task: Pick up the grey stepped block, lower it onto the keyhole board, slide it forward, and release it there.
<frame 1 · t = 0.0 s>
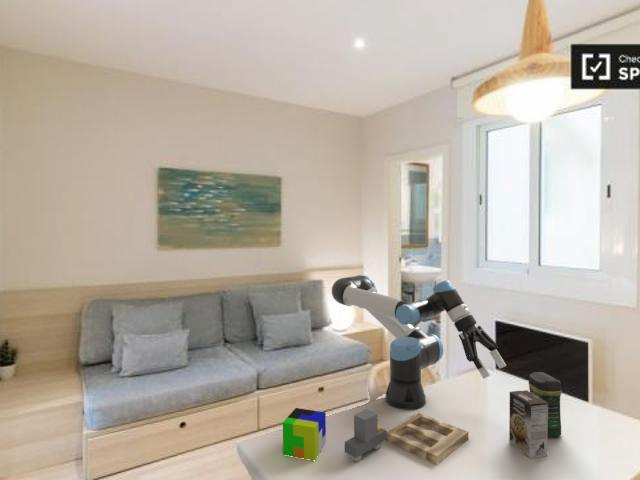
hand: (495, 372, 141), 15 cm above the table, tool tilted 35°, fingers open, 13 cm apart
coffee jar: (544, 431, 130), on the table
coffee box: (527, 449, 120), on the table
keyhole board: (426, 439, 125), on the table
grey stepped block: (366, 452, 119), on the table
puzzle toy: (305, 450, 121), on the table
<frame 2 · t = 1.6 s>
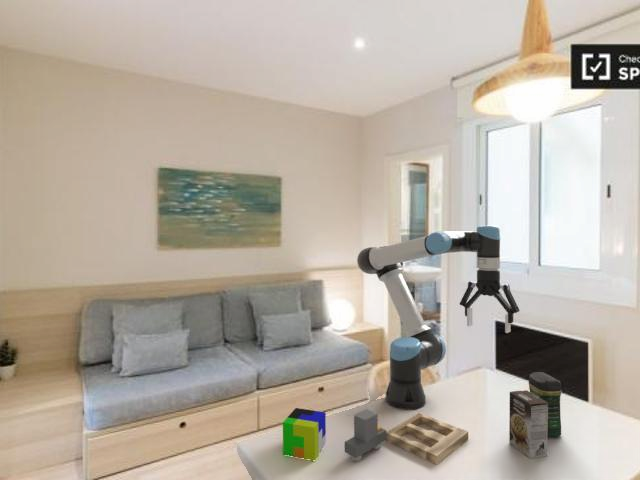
hand: (488, 328, 141), 31 cm above the table, tool pointing down, fingers open, 13 cm apart
nothing on the table moved.
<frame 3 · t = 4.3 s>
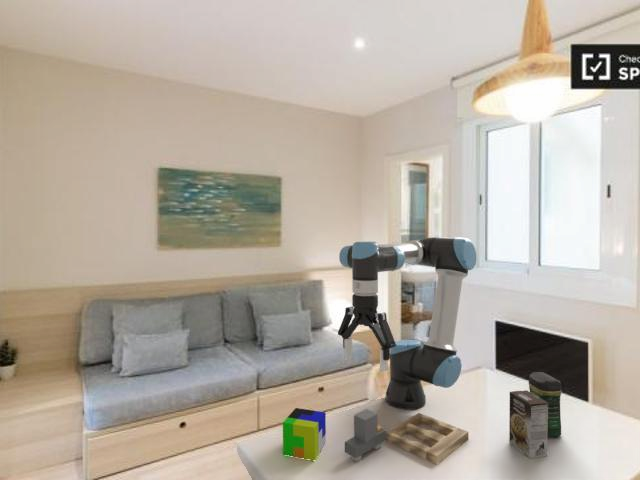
hand: (365, 365, 118), 26 cm above the table, tool pointing down, fingers open, 13 cm apart
nothing on the table moved.
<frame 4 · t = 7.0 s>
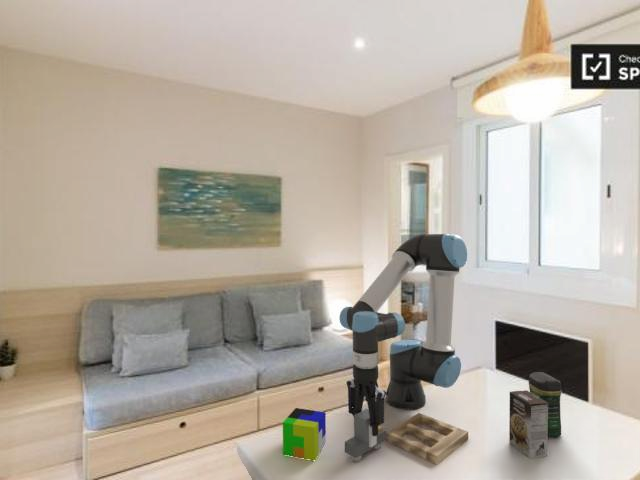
hand: (365, 441, 119), 3 cm above the table, tool pointing down, fingers closed on grey stepped block, 4 cm apart
grey stepped block: (366, 452, 119), on the table, touching gripper
everything else where it was.
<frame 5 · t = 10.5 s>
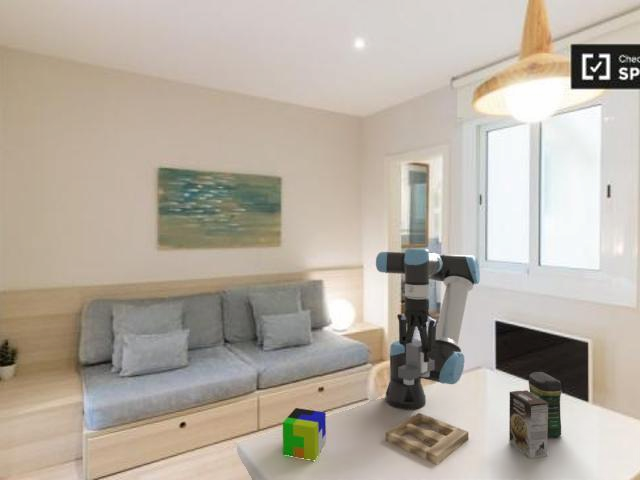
hand: (416, 369, 127), 22 cm above the table, tool pointing down, fingers closed on grey stepped block, 4 cm apart
grey stepped block: (416, 379, 127), point 18 cm above the table, touching gripper
everything else where it was.
when the fingers open (4 cm above the table, at t = 14.3 s): grey stepped block stays where it is, resting on keyhole board.
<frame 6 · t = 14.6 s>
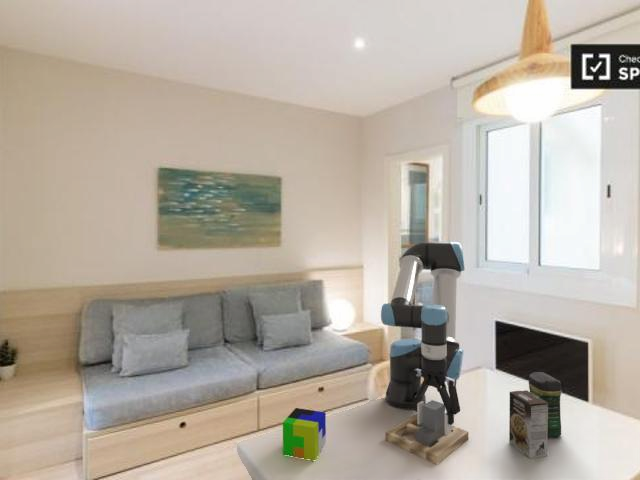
hand: (433, 428, 123), 5 cm above the table, tool pointing down, fingers open, 9 cm apart
grey stepped block: (433, 441, 124), resting on keyhole board
everything else where it was.
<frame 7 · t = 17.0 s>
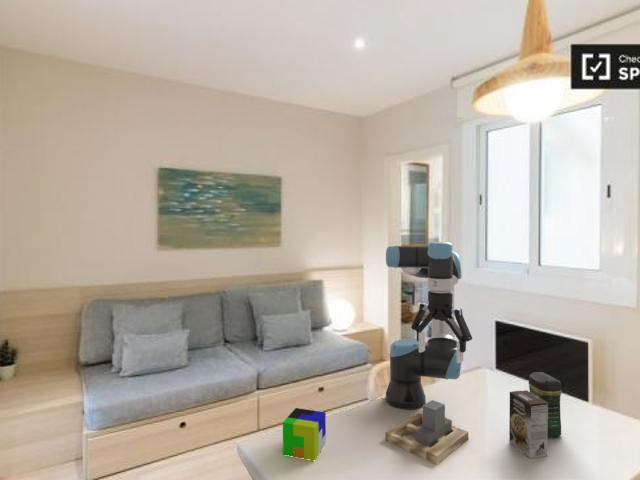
hand: (440, 356, 127), 26 cm above the table, tool pointing down, fingers open, 13 cm apart
nothing on the table moved.
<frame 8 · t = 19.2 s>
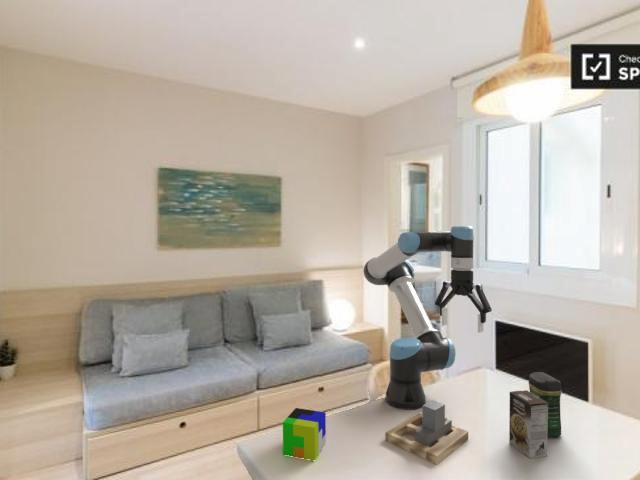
hand: (461, 328, 142), 31 cm above the table, tool pointing down, fingers open, 13 cm apart
nothing on the table moved.
at the end: grey stepped block 0.5 cm from the target spot on the keyhole board, point 0.5 cm above the keyhole board's base; grey stepped block tilted 0°; the gripper is holding nothing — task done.
